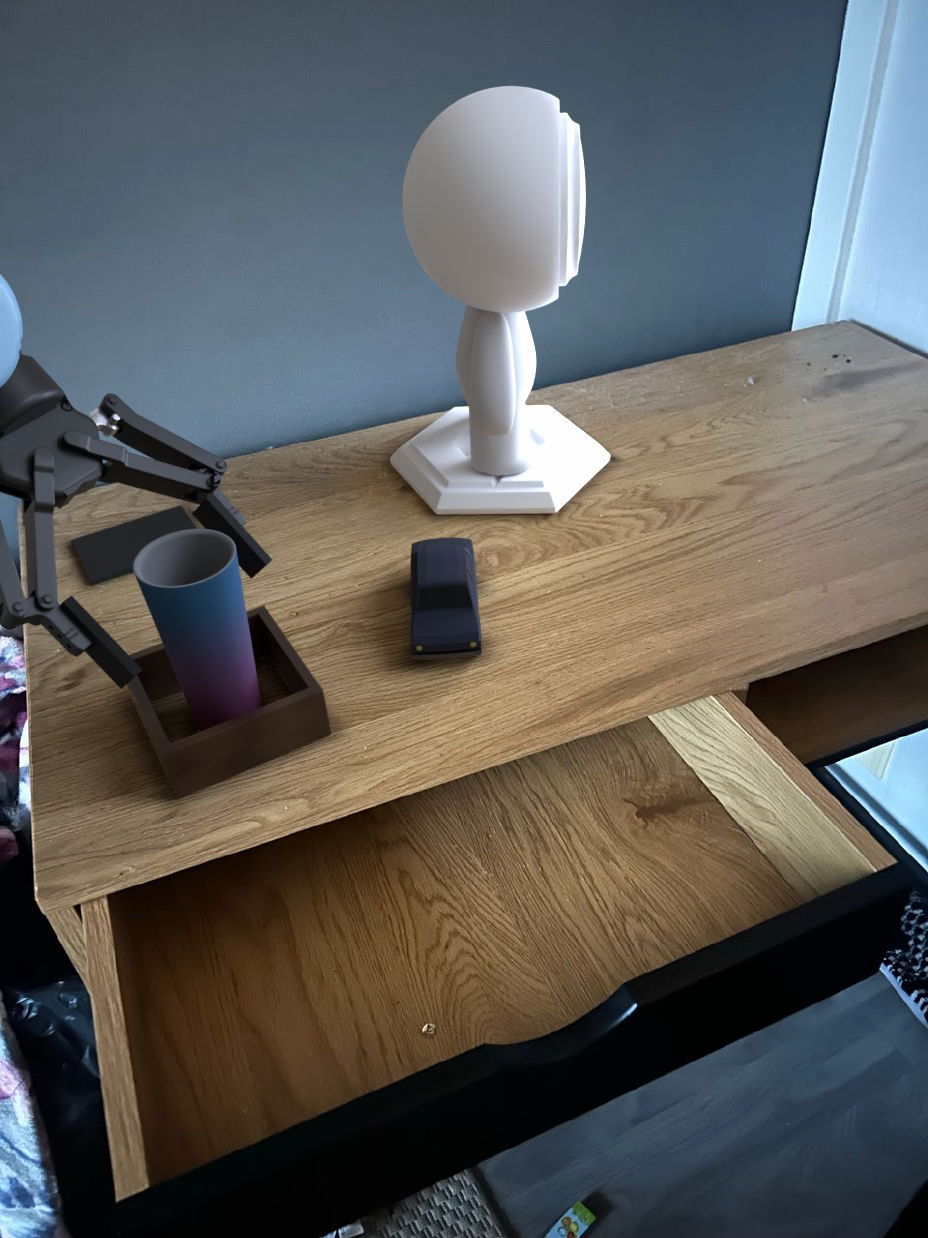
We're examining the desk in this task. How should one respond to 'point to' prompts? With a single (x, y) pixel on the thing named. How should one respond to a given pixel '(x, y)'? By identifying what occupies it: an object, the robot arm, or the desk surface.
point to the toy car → (444, 600)
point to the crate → (242, 736)
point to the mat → (125, 543)
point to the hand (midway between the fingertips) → (201, 621)
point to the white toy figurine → (498, 298)
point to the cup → (202, 621)
